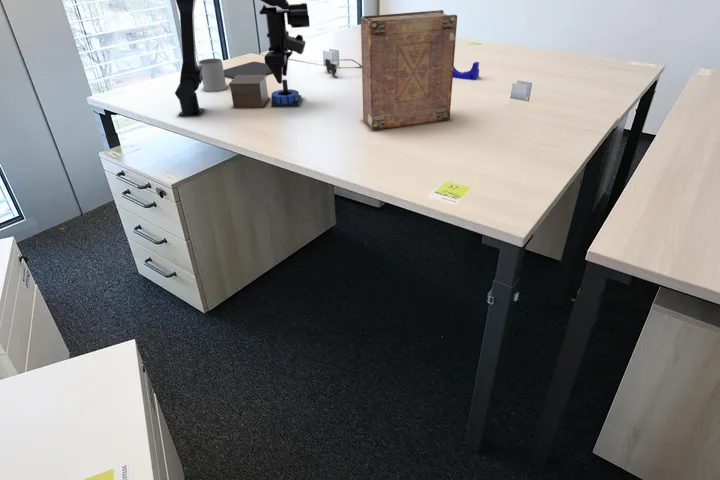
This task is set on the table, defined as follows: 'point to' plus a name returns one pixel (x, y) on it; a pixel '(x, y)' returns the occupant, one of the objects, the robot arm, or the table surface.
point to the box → (249, 91)
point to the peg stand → (285, 90)
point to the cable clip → (468, 73)
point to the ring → (285, 96)
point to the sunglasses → (334, 67)
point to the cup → (213, 75)
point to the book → (407, 68)
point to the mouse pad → (248, 70)
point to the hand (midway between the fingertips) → (282, 79)
